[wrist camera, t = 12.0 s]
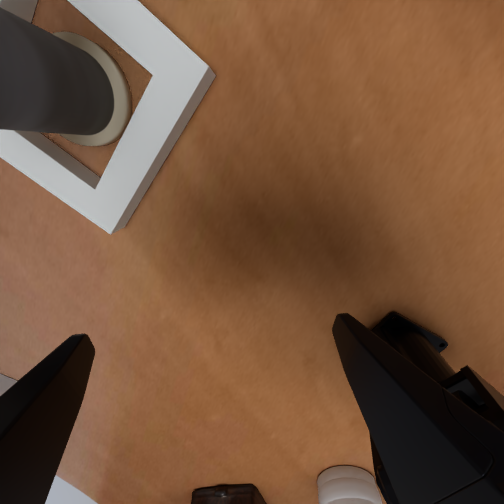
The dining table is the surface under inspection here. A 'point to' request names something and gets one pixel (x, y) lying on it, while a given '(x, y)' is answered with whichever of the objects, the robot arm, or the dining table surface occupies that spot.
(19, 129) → the disc
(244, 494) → the coffee grinder
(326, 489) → the bottle
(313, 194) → the dining table surface
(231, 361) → the dining table surface
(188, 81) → the rectangular frame
